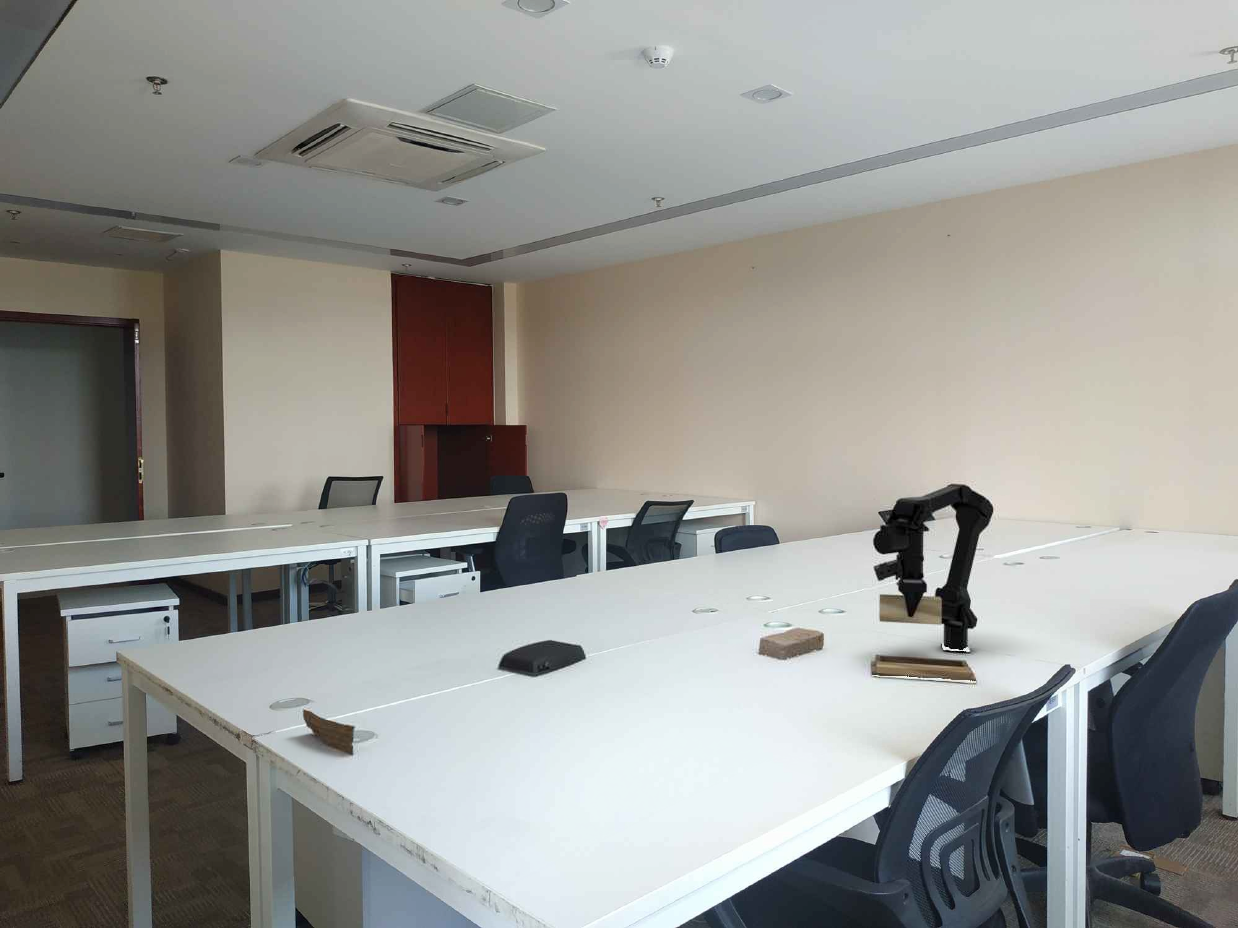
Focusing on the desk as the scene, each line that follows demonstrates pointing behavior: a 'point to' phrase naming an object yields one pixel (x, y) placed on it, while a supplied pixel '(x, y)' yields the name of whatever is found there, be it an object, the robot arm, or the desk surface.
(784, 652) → the brick
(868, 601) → the desk surface
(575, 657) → the external hard drive
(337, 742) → the wood plank
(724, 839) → the desk surface
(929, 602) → the oak plank
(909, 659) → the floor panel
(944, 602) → the robot arm
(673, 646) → the desk surface
